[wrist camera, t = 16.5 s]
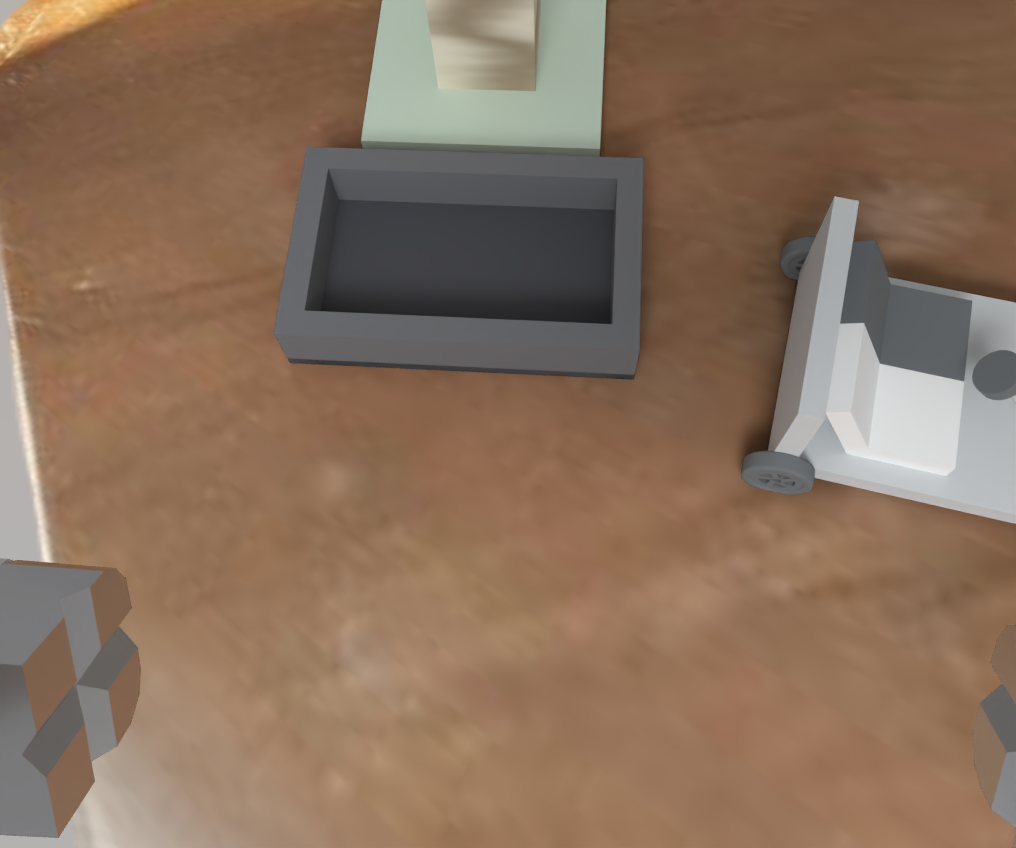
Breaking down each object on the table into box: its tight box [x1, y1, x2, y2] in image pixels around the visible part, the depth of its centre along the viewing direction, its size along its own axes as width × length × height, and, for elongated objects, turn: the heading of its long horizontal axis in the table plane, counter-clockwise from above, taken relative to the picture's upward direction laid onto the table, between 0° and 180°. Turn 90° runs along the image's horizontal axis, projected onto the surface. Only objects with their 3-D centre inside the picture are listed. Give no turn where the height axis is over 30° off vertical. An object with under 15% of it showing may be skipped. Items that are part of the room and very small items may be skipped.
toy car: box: [741, 196, 1016, 524], centre depth 39 cm, size 18×10×12 cm
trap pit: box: [274, 147, 644, 379], centre depth 45 cm, size 16×10×3 cm, turn 86°
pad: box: [361, 0, 606, 157], centre depth 51 cm, size 12×12×1 cm
